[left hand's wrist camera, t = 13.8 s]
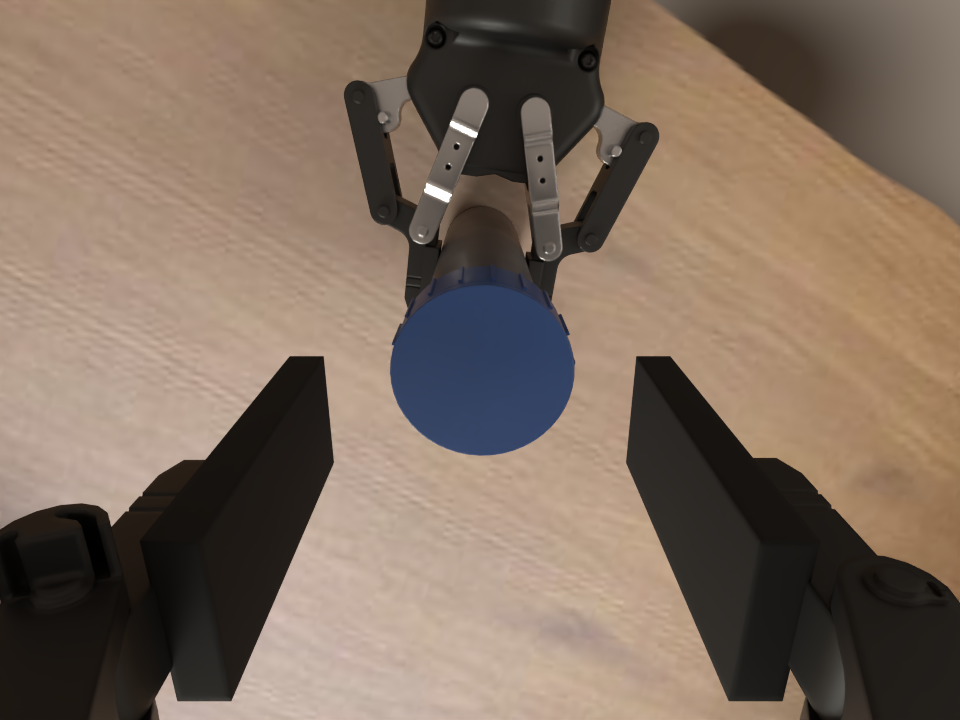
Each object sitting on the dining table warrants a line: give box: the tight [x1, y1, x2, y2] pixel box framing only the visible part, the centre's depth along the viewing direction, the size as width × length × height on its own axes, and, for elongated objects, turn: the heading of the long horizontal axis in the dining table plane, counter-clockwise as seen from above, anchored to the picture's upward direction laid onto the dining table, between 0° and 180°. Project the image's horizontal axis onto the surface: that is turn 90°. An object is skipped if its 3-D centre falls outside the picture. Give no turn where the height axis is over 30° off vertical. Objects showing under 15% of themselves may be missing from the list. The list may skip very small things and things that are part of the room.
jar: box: [432, 207, 533, 283], centre depth 27 cm, size 4×4×20 cm
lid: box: [390, 264, 575, 456], centre depth 18 cm, size 5×5×2 cm
